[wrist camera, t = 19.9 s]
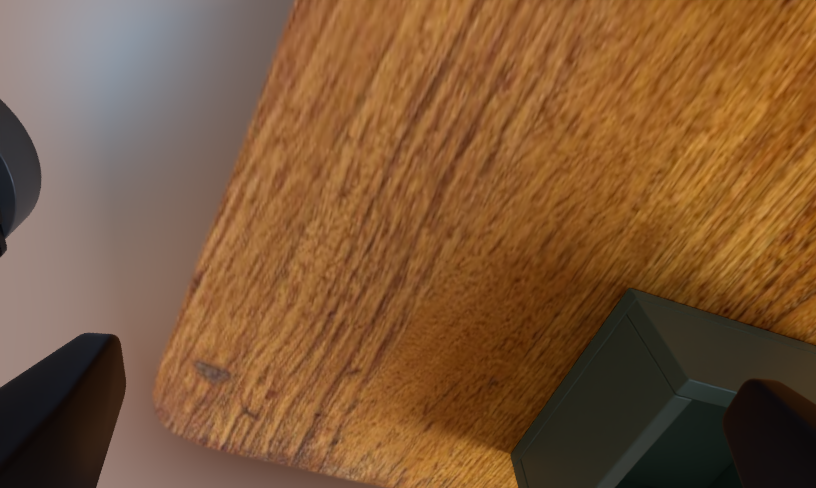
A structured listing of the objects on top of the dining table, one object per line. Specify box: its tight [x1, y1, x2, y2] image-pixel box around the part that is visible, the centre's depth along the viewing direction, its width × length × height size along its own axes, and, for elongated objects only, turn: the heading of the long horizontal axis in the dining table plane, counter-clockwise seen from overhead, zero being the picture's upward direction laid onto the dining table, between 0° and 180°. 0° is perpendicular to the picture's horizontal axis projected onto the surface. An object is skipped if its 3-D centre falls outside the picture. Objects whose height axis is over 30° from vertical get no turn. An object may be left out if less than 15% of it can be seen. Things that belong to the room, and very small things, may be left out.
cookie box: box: [510, 288, 816, 488], centre depth 26 cm, size 12×11×5 cm
